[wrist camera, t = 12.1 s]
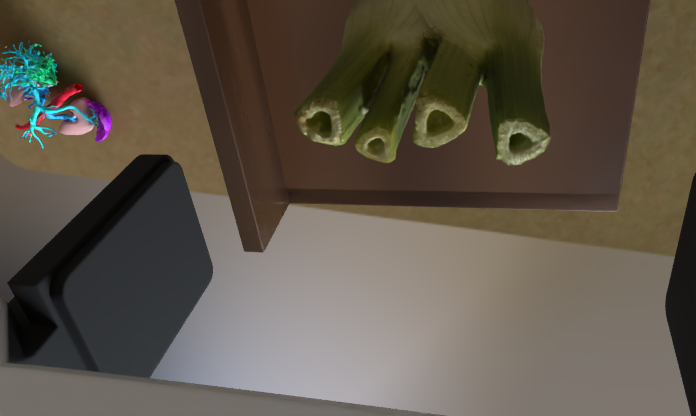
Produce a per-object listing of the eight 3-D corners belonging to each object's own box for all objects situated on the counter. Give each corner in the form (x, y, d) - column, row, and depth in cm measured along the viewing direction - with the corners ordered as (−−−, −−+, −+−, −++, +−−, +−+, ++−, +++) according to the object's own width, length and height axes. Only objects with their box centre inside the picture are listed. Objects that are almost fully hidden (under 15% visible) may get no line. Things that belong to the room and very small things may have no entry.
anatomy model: (37, 191, 42) (85, 156, 38) (-57, 99, 39) (-15, 51, 35) (84, 151, 46) (133, 116, 42) (2, 65, 43) (46, 18, 39)
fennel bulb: (553, -25, 22) (582, 127, 12) (477, 82, 25) (455, 272, 15) (415, -109, 21) (336, -17, 12) (354, 11, 24) (252, 163, 15)
